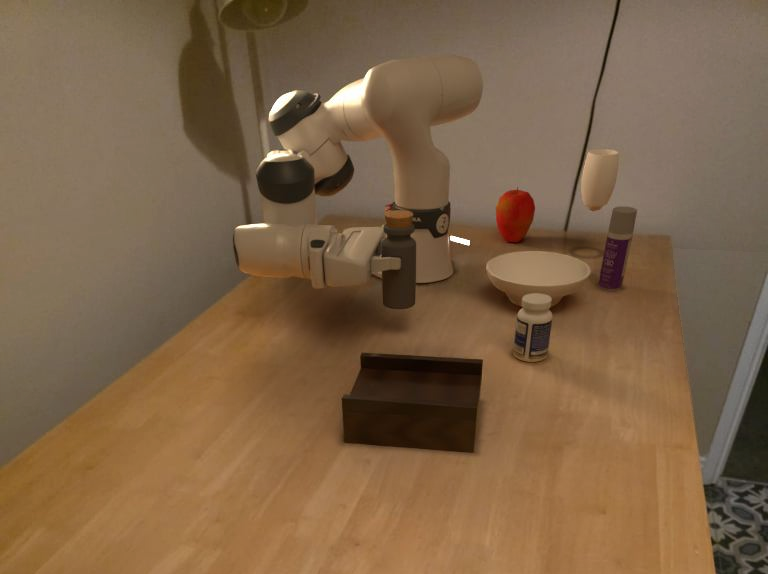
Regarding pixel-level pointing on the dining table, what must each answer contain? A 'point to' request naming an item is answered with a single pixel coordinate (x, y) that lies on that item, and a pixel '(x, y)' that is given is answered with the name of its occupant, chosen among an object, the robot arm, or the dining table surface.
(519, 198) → the apple
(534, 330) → the pill bottle
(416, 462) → the dining table surface
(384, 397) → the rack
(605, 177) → the cup
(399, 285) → the bottle
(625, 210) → the container
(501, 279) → the bowl
